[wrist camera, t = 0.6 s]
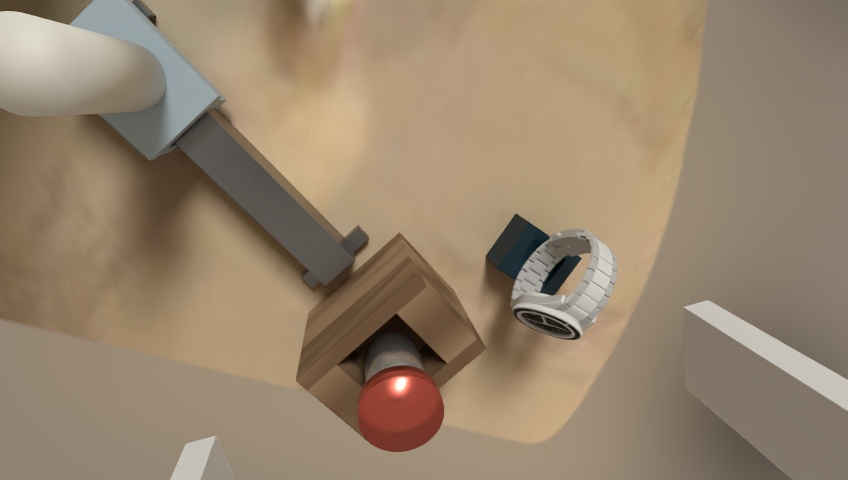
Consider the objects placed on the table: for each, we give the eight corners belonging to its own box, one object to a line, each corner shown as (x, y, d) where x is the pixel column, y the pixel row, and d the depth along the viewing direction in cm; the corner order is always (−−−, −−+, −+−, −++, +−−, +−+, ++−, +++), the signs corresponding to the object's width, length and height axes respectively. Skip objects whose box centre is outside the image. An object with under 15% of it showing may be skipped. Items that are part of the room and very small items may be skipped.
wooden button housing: (308, 312, 39) (295, 380, 30) (399, 232, 38) (416, 275, 29) (366, 365, 41) (372, 444, 32) (454, 290, 41) (486, 348, 31)
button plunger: (341, 356, 31) (339, 417, 25) (394, 310, 30) (405, 360, 25) (389, 399, 32) (398, 466, 26) (440, 356, 32) (461, 413, 26)
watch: (472, 274, 40) (515, 335, 30) (528, 195, 39) (593, 230, 29) (522, 305, 42) (580, 373, 32) (578, 230, 41) (657, 275, 30)
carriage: (66, 61, 31) (-127, 34, 18) (132, -4, 30) (-20, -78, 18) (167, 155, 33) (58, 188, 21) (229, 96, 33) (156, 93, 20)
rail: (77, 62, 32) (50, 59, 29) (140, 0, 31) (120, -10, 29) (313, 284, 39) (310, 299, 36) (368, 235, 38) (370, 246, 35)
